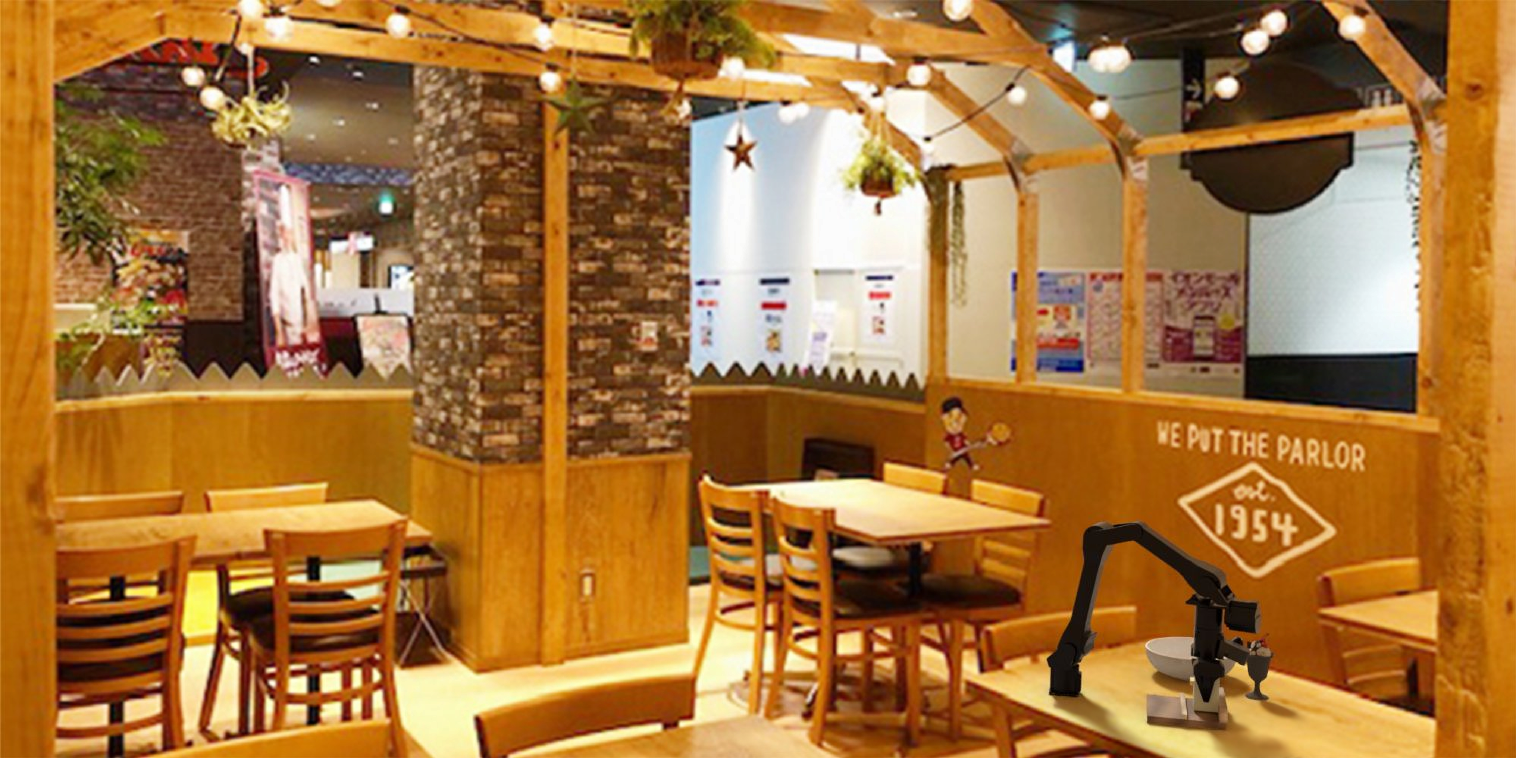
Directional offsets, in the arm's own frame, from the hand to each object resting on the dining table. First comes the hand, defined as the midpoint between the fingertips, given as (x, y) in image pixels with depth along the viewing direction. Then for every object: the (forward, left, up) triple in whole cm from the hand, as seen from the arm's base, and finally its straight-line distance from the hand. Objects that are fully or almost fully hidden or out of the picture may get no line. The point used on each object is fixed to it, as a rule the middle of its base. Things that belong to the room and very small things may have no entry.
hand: (1205, 698), depth 293 cm
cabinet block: (0, 0, -2) cm, 2 cm away
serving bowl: (-2, +32, -4) cm, 32 cm away
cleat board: (-4, 0, -4) cm, 6 cm away
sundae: (+12, +19, -4) cm, 23 cm away
